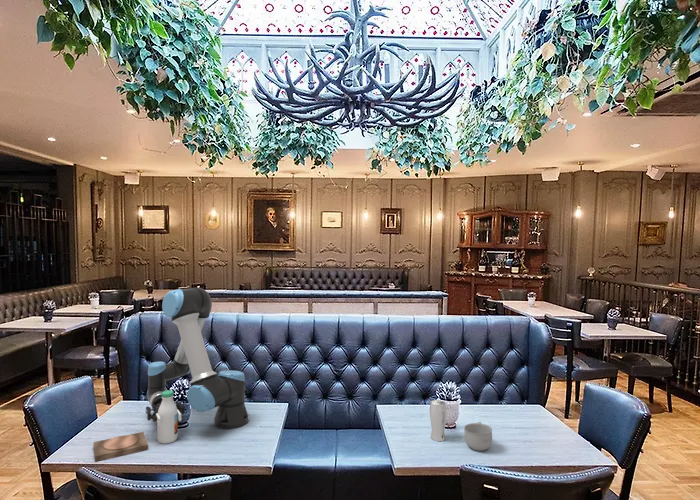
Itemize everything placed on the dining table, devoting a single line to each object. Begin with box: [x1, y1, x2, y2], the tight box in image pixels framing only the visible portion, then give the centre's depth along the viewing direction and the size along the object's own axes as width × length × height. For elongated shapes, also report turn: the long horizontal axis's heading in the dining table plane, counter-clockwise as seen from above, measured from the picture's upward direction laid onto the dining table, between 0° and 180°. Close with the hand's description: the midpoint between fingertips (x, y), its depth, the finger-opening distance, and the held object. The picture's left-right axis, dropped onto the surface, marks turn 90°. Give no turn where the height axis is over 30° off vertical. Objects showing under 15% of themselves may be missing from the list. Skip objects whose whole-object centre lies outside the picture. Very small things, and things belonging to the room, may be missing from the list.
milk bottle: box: [156, 390, 179, 445], centre depth 176 cm, size 8×8×20 cm
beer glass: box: [429, 399, 448, 442], centre depth 179 cm, size 7×7×15 cm
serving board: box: [93, 431, 149, 463], centre depth 169 cm, size 18×14×3 cm
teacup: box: [463, 421, 493, 452], centre depth 173 cm, size 14×11×8 cm
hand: (170, 419), depth 172 cm, fingers closed on milk bottle, 7 cm apart
